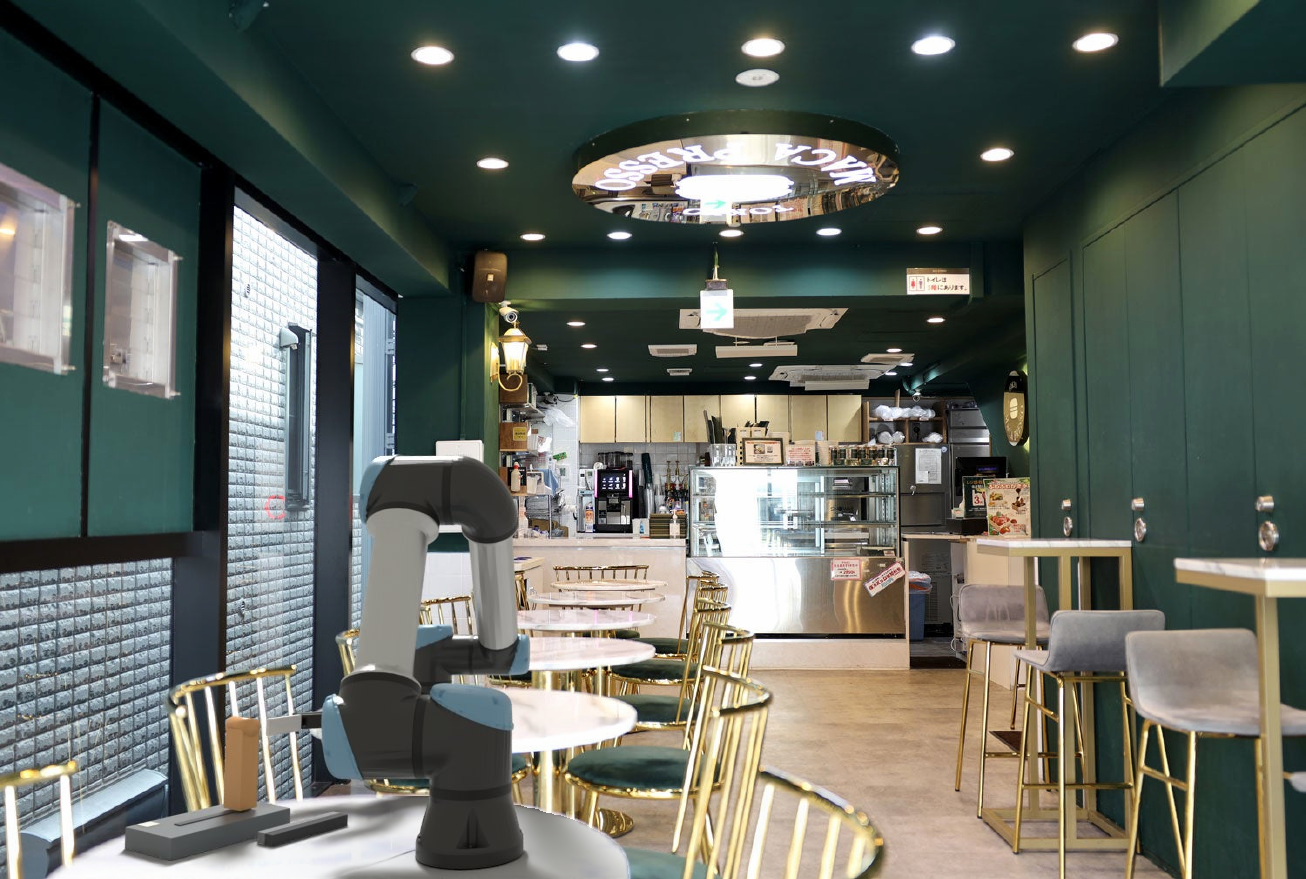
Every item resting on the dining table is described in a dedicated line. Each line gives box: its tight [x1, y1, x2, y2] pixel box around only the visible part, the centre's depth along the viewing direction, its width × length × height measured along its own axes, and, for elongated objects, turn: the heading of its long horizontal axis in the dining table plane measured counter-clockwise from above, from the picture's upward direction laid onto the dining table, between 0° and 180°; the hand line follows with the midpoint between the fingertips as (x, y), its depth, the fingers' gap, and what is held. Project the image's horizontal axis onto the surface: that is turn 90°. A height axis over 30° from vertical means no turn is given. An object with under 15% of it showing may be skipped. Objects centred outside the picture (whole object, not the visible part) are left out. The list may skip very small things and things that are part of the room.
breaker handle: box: [222, 715, 262, 811], centre depth 163 cm, size 5×3×14 cm, turn 58°
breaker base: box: [124, 800, 291, 861], centre depth 158 cm, size 11×20×3 cm, turn 148°
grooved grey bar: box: [256, 811, 349, 848], centre depth 160 cm, size 3×14×2 cm, turn 148°
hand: (294, 730), depth 172 cm, fingers open, 13 cm apart
